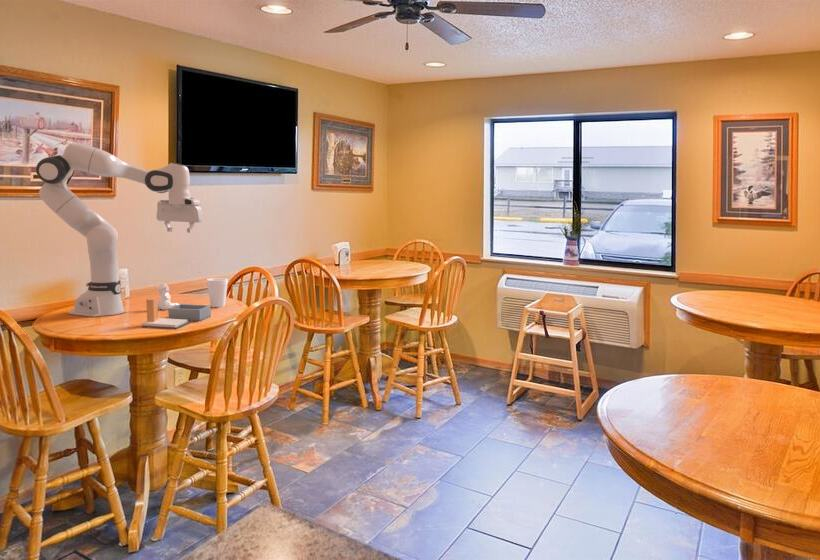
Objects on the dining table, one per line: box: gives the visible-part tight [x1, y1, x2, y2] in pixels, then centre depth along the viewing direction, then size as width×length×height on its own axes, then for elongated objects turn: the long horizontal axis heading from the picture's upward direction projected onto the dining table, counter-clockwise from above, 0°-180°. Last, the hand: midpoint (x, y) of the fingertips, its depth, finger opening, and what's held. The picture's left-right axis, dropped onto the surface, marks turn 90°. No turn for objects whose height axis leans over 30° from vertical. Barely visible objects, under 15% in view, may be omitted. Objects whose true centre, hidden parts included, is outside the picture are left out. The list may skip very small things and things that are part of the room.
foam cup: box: [206, 277, 229, 308], centre depth 283 cm, size 10×9×13 cm
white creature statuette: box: [155, 283, 180, 311], centre depth 274 cm, size 10×9×12 cm
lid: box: [141, 297, 189, 327], centre depth 243 cm, size 14×10×10 cm
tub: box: [167, 303, 212, 322], centre depth 257 cm, size 14×10×5 cm
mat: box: [141, 321, 191, 330], centre depth 244 cm, size 15×11×1 cm
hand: (179, 232), depth 264 cm, fingers open, 8 cm apart
